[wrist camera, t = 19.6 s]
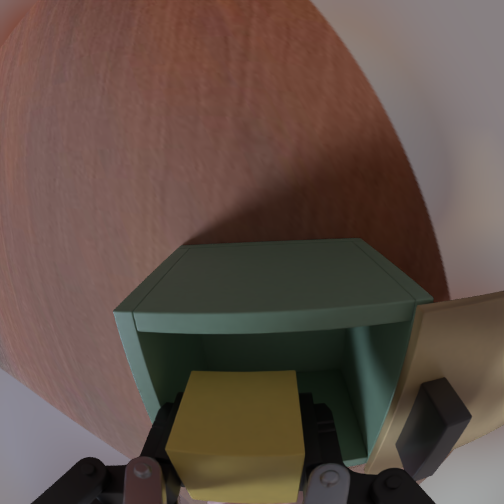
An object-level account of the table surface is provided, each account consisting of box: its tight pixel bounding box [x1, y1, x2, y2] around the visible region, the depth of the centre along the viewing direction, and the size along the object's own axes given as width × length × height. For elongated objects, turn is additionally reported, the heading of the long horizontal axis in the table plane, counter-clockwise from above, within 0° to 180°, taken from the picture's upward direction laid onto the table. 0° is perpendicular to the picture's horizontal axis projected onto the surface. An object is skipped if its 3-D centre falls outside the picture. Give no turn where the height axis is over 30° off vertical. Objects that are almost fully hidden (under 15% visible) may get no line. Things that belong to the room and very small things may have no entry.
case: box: [113, 238, 434, 467], centre depth 14 cm, size 10×11×9 cm
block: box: [165, 370, 305, 504], centre depth 9 cm, size 4×4×4 cm
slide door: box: [364, 291, 504, 481], centre depth 8 cm, size 10×11×3 cm
